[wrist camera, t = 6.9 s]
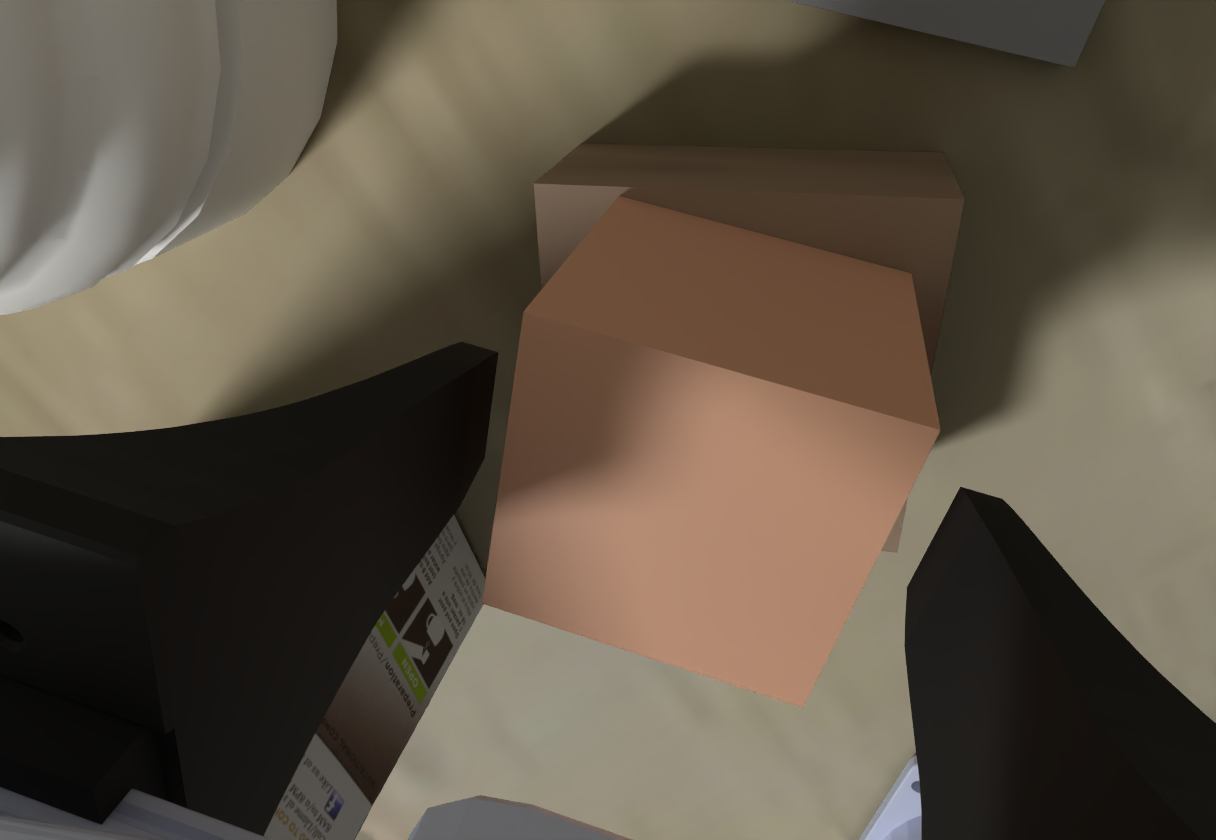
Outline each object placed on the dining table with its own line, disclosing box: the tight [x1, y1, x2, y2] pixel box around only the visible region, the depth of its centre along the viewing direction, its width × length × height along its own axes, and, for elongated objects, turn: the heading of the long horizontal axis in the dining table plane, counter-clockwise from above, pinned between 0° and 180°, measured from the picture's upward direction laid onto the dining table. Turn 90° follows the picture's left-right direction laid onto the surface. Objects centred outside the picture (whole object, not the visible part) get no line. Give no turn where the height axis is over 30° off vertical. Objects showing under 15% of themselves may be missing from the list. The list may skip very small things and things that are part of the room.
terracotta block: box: [482, 196, 941, 708], centre depth 13 cm, size 5×5×5 cm
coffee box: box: [264, 515, 485, 840], centre depth 18 cm, size 9×6×16 cm
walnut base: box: [534, 143, 965, 552], centre depth 17 cm, size 7×7×4 cm
